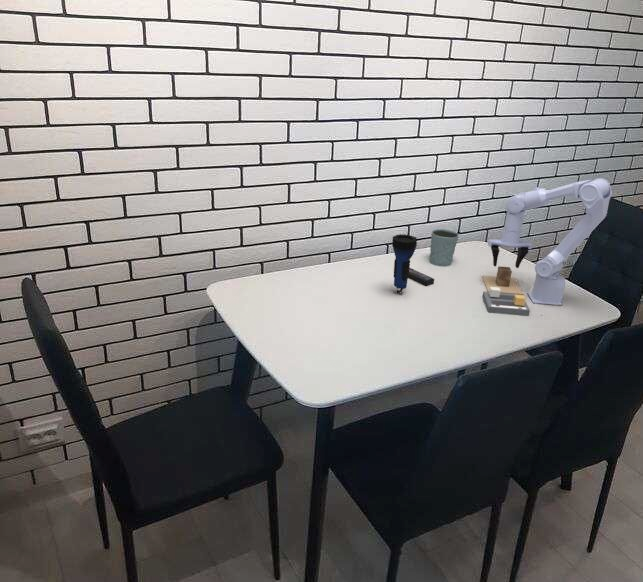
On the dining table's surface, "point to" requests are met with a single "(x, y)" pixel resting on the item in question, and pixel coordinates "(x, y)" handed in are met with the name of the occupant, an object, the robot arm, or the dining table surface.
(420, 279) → the multiport hub
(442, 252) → the green cup
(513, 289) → the mat
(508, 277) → the block
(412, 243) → the flashlight
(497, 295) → the switch tab
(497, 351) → the dining table surface
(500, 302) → the switch panel
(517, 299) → the switch tab
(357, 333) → the dining table surface
